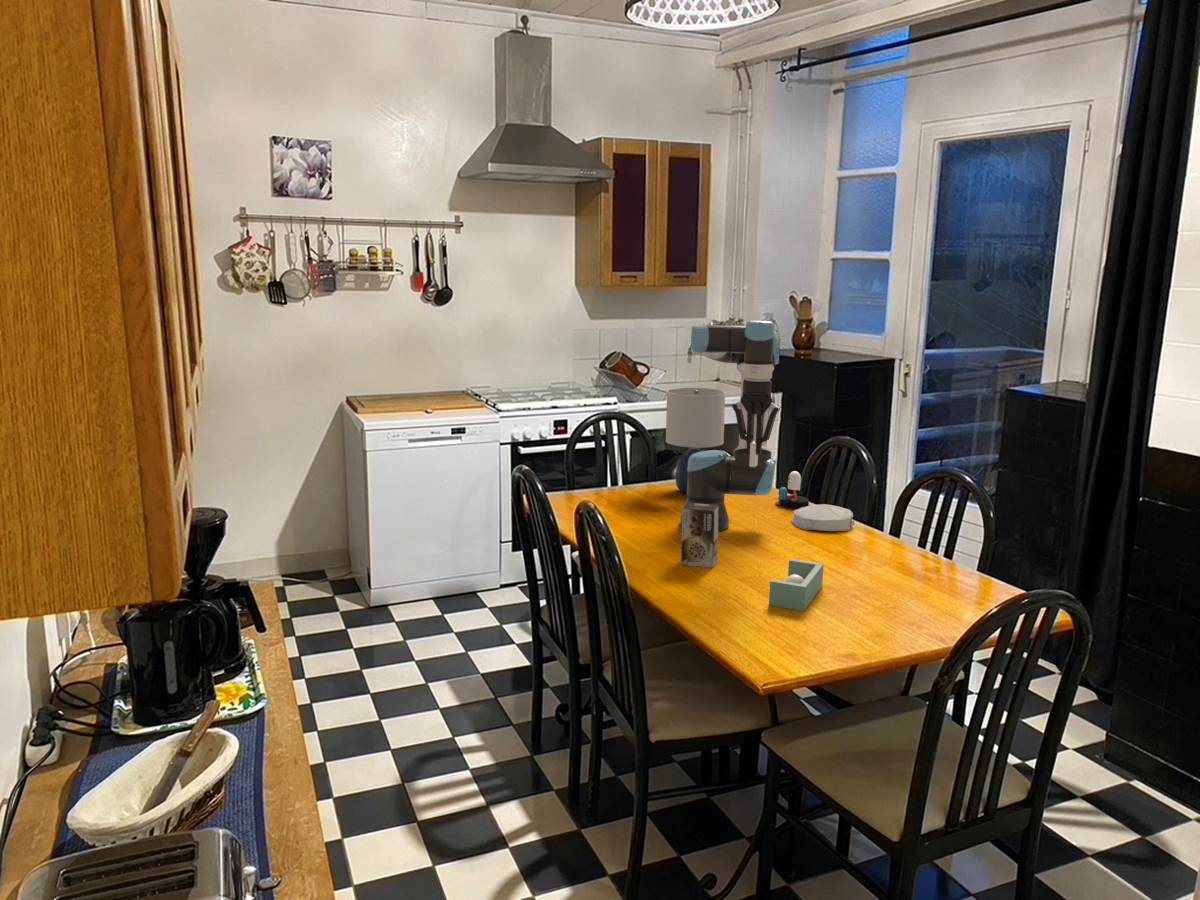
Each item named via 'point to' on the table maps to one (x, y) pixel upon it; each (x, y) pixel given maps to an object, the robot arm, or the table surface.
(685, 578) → the table surface
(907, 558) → the table surface
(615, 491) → the table surface
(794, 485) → the figurine
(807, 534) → the table surface
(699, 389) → the lamp
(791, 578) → the ball
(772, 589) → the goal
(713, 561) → the coffee box
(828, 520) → the food container
